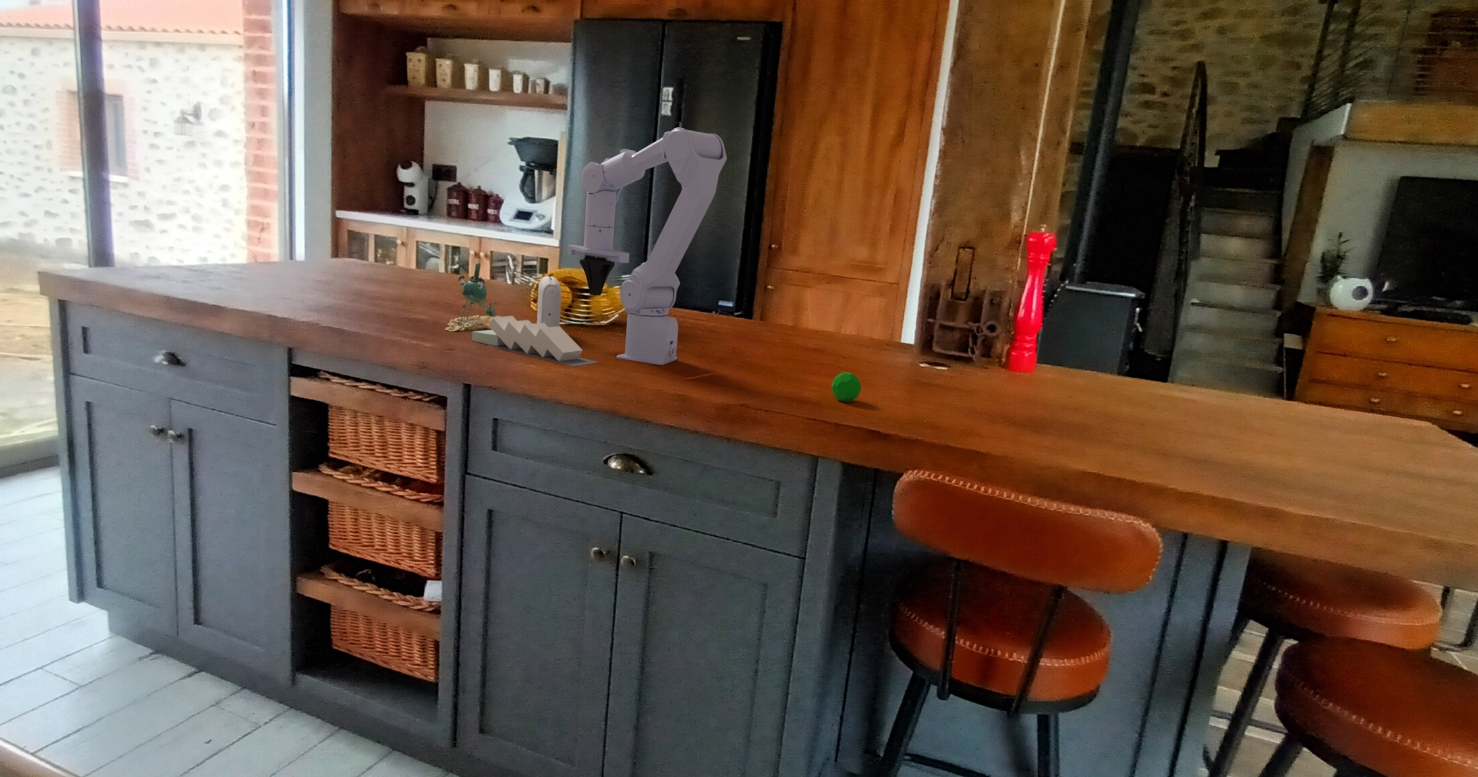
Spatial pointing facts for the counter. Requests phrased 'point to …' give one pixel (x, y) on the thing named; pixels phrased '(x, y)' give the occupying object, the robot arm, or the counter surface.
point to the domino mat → (551, 358)
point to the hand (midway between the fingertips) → (595, 295)
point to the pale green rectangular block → (487, 337)
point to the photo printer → (549, 302)
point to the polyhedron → (846, 387)
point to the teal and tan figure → (474, 294)
